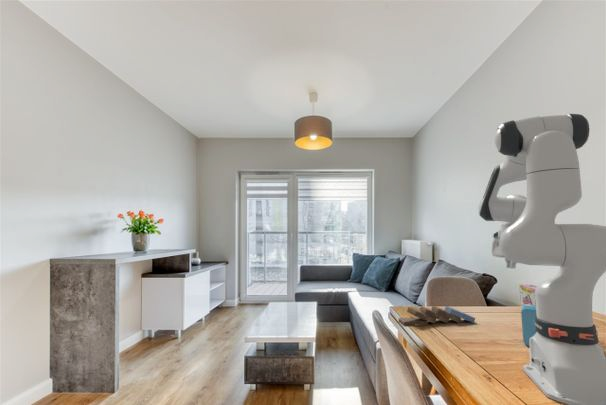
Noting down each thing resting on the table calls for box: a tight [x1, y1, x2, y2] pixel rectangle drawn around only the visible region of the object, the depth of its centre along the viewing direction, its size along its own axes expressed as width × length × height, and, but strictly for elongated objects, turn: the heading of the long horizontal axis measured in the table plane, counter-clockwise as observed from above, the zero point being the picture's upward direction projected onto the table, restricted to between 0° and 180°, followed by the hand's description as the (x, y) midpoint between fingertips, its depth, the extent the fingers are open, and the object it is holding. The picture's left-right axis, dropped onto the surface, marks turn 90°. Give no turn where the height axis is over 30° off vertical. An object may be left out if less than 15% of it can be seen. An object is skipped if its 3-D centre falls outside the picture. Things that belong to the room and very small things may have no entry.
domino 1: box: [398, 317, 429, 327], centre depth 121 cm, size 2×5×10 cm
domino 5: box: [444, 305, 476, 324], centre depth 123 cm, size 2×5×10 cm
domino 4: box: [430, 305, 462, 324], centre depth 123 cm, size 2×5×10 cm
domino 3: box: [419, 305, 450, 324], centre depth 123 cm, size 2×5×10 cm
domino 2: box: [406, 306, 437, 324], centre depth 121 cm, size 2×5×10 cm
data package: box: [520, 306, 537, 348], centre depth 96 cm, size 12×4×12 cm, turn 52°
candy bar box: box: [519, 284, 538, 311], centre depth 108 cm, size 11×5×16 cm, turn 168°
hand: (510, 268), depth 121 cm, fingers closed
